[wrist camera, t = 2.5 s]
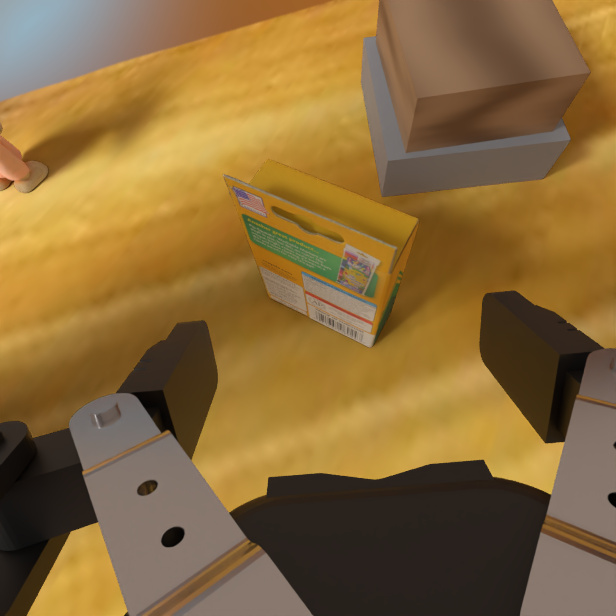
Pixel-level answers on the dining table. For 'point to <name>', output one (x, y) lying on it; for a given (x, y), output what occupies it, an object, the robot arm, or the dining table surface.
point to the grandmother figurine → (18, 168)
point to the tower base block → (449, 160)
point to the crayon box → (324, 248)
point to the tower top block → (476, 69)
